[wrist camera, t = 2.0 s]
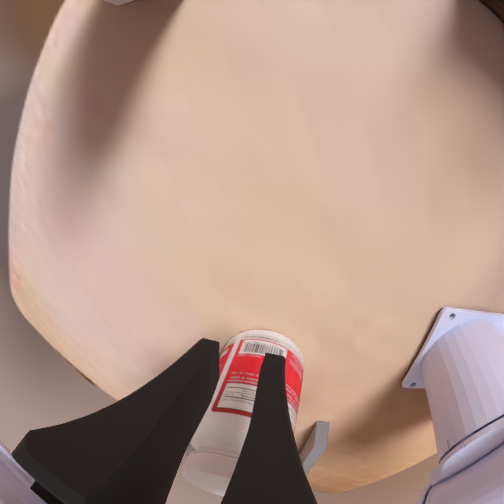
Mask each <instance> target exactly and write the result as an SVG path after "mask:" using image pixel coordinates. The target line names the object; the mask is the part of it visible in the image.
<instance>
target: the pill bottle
mask: <svg viewBox="0 0 504 504" xmlns="http://www.w3.org/2000/svg"><path fill="white" fill-rule="evenodd" d="M266 353H271V354H276V355H281V356H284V357H285V358H286V363H285V383H286V394H287V402H288V408H289V415H290V420H291V425H292V429H293V434H294V430H295V424H296V418H297V412H298V406H299V400H300V393H301V386H302V379H303V371H304V358H303V355H302V353H301V351H300V349H299V348H298V346H297V345H296V344H295V343H294V342H293V341H292V340H290V339H289V338H287V337H286V336H284V335H282V334H280V333H277V332H274V331H270V330H262V329H253V330H247V331H244V332H241V333H238V334H236V335H235V336H233V337H232V338H231V339H230V340H229V341H228V343H227V344H226V346H225V348H224V350H223V352H222V354H221V356H220V358H219V375H220V378H219V381H218V384H217V387H216V390H215V393H214V395H213V398H212V401H211V403H210V405H209V407H208V409H207V411H206V413H205V415H204V417H203V419H202V420H201V422H200V424H199V426H198V428H197V430H196V432H195V434H194V436H193V437H192V439H191V441H190V443H191V445H192V447H193V448H194V449H195V450H196V451H193V452H191V453H190V455H189V456H188V457H187V459H186V462H185V464H184V467H183V469H182V471H181V474H182V476H183V477H184V479H186V480H187V481H188V482H190V483H191V484H193V485H195V486H196V487H199V488H201V489H203V490H205V491H208V492H210V493H214V494H217V495H220V496H224V495H225V492H226V490H227V487H228V485H229V482H230V480H231V477H232V474H233V472H234V469H235V466H236V463H237V461H238V458H239V455H240V452H241V449H242V447H243V444H244V441H245V438H246V435H247V432H248V428H249V424H250V420H251V416H252V410H253V405H254V400H255V394H256V389H257V384H258V378H259V373H260V368H261V365H262V362H263V359H264V356H265V354H266Z"/></svg>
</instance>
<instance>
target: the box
mask: <svg viewBox="0 0 504 504" xmlns="http://www.w3.org/2000/svg"><path fill="white" fill-rule="evenodd" d="M328 430H329V422H321V421H317V423H316V424H315V426H314V428H313V430H312V432H311V434H310V436H309V438H308V439H307V441H306V443H305V445H304V447H303V448H302V450H301V452H300V454H299V456H300V460H301V463H302V466H303V469H304V472H305V475H307V473H308V472H309V471H310V470H311V468H312V467H313V466H314V465H315V463H316V462H317V461H318V459H319V458H320V457H321V455H322V454H323V452H324V451H325V450H326V448H327V441H328ZM193 451H196V450H195V449H194V448H193V447H192V445H191V443H189V445H188V447H187V449H186V454H187V456H189V455H190V453H191V452H193Z"/></svg>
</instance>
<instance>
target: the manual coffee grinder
mask: <svg viewBox="0 0 504 504" xmlns="http://www.w3.org/2000/svg"><path fill="white" fill-rule="evenodd" d="M480 1H482V2H483V3H484V4H485V5H486V6H487V7H488V8H489V9H491V10H492V11H493V12H494V13H495V14H496V15H497V16H498V17H499V18H500V19H501V20H502V21H503V22H504V0H480Z"/></svg>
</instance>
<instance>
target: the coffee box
mask: <svg viewBox="0 0 504 504" xmlns="http://www.w3.org/2000/svg"><path fill="white" fill-rule="evenodd" d="M103 1H106V2H109V3H111V4H114V5H117V6H119V5H123V4H126V3H129V2H132V1H135V0H103Z"/></svg>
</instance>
